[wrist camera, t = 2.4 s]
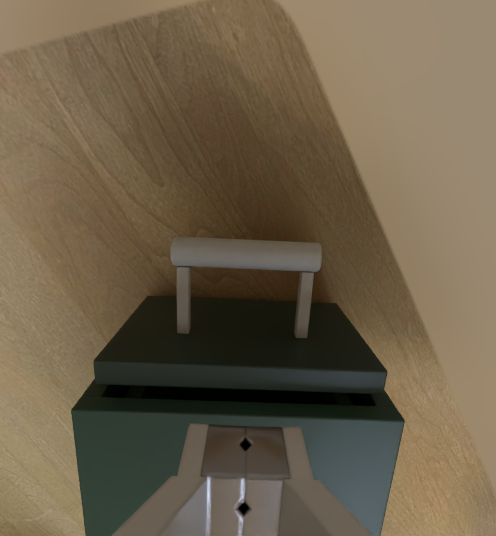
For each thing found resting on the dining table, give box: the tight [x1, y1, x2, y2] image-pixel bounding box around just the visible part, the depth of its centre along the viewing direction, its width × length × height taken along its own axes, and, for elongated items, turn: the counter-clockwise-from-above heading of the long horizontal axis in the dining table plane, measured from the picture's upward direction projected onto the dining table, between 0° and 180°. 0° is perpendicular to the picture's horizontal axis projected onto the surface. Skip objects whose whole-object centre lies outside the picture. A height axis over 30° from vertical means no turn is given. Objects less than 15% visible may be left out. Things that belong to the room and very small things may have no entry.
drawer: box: [94, 236, 387, 405], centre depth 19 cm, size 20×13×8 cm, turn 177°
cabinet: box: [71, 379, 405, 536], centre depth 20 cm, size 16×14×10 cm
